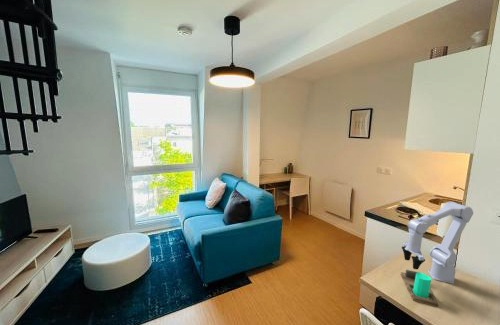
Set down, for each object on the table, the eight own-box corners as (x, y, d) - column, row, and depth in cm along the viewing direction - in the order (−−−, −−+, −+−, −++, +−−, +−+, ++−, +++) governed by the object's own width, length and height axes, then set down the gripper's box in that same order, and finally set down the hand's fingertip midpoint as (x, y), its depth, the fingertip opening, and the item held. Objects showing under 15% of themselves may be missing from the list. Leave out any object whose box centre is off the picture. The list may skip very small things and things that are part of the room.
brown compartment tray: (400, 274, 122) (401, 266, 121) (421, 279, 118) (422, 271, 117) (412, 300, 103) (414, 291, 102) (438, 306, 100) (439, 297, 99)
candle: (430, 300, 103) (434, 278, 101) (417, 298, 105) (420, 276, 103) (423, 291, 109) (427, 270, 107) (410, 289, 110) (413, 268, 108)
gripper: (399, 234, 122) (396, 255, 124) (414, 248, 107) (411, 272, 110) (412, 235, 121) (409, 256, 123) (430, 249, 106) (426, 273, 109)
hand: (411, 264), depth 116 cm, fingers open, 7 cm apart
